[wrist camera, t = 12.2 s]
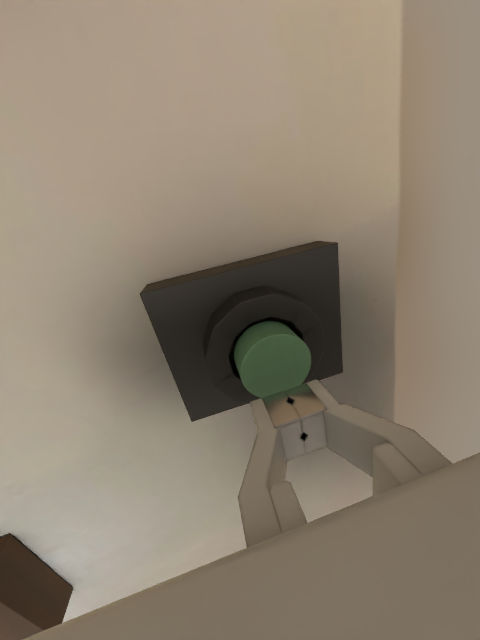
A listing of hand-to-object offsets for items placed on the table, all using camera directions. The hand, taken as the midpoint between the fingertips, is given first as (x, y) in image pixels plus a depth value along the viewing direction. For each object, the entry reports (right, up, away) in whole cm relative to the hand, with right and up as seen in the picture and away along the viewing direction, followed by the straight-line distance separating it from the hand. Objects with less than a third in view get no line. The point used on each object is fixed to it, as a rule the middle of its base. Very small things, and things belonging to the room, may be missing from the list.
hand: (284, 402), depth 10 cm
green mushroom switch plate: (-1, +3, +6) cm, 7 cm away
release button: (0, +2, +3) cm, 3 cm away
